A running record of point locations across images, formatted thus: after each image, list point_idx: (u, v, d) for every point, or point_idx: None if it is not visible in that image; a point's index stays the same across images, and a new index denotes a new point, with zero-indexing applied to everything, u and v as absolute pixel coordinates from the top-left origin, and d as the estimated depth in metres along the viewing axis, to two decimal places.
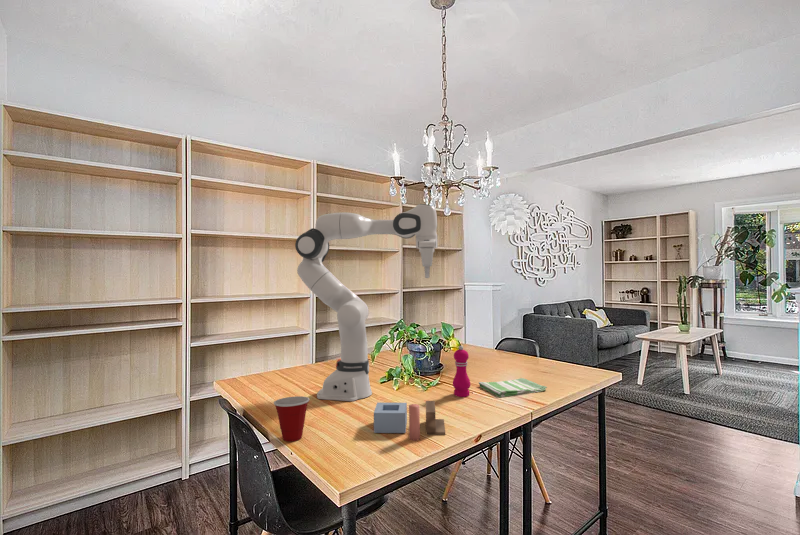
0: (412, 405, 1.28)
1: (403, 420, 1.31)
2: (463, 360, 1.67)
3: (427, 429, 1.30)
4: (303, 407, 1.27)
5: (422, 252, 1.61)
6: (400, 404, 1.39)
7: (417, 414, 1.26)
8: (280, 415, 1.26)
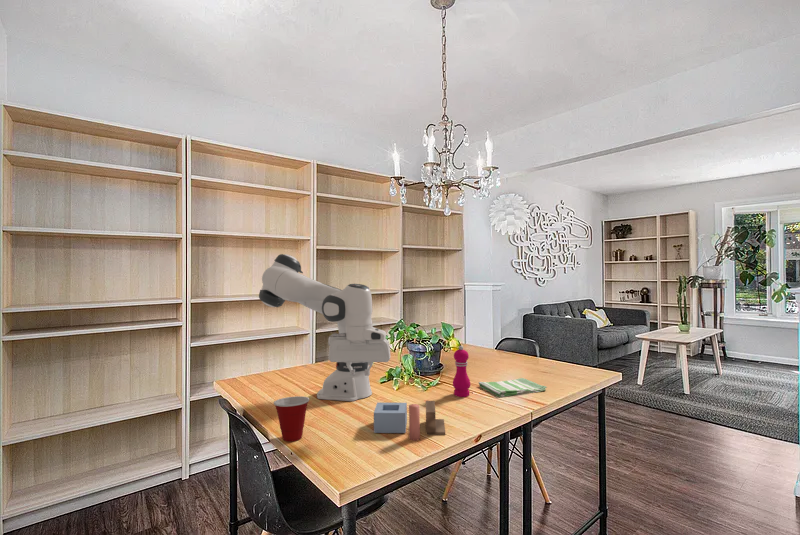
0: (412, 405, 1.28)
1: (403, 420, 1.31)
2: (463, 360, 1.67)
3: (427, 429, 1.30)
4: (303, 407, 1.27)
5: (387, 345, 1.35)
6: (400, 404, 1.39)
7: (417, 414, 1.26)
8: (280, 415, 1.26)
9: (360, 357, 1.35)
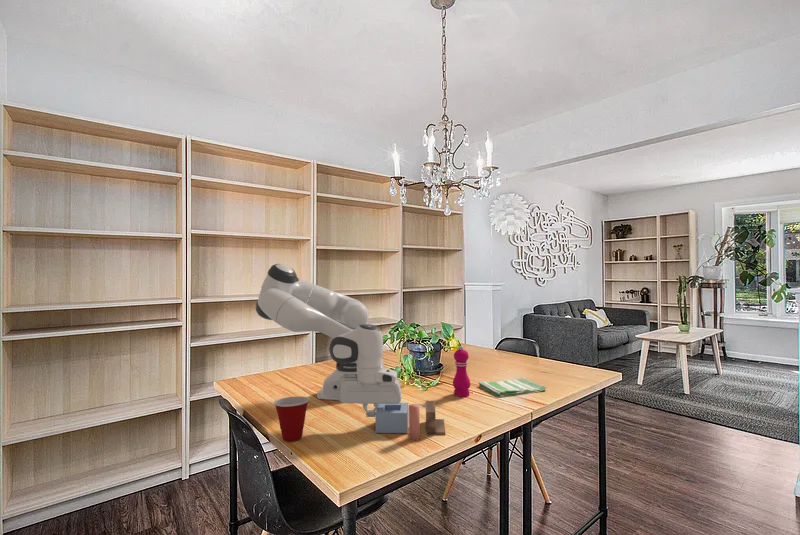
0: (412, 405, 1.28)
1: (405, 420, 1.31)
2: (463, 360, 1.67)
3: (427, 429, 1.30)
4: (303, 407, 1.27)
5: (398, 387, 1.34)
6: (402, 404, 1.39)
7: (417, 414, 1.26)
8: (280, 415, 1.26)
9: (372, 399, 1.35)
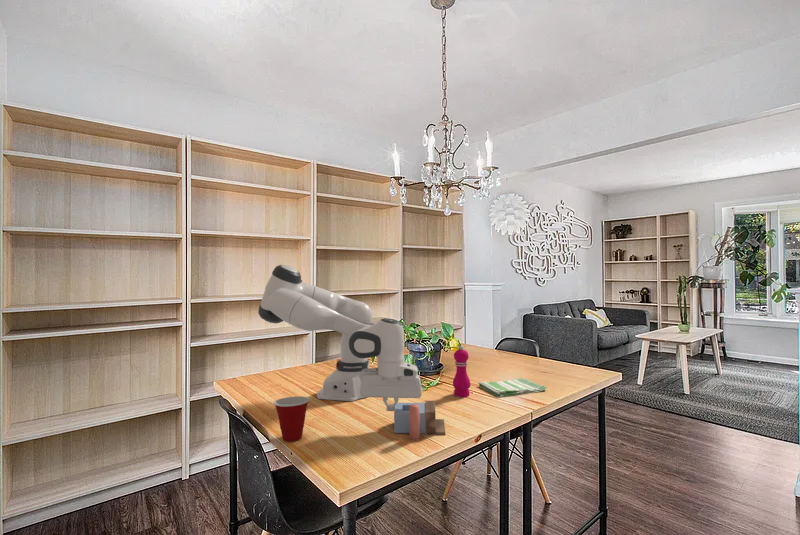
0: (412, 405, 1.28)
1: (424, 420, 1.31)
2: (463, 360, 1.67)
3: (427, 429, 1.30)
4: (303, 407, 1.27)
5: (419, 381, 1.34)
6: (419, 404, 1.39)
7: (417, 414, 1.26)
8: (280, 415, 1.26)
9: (392, 393, 1.35)
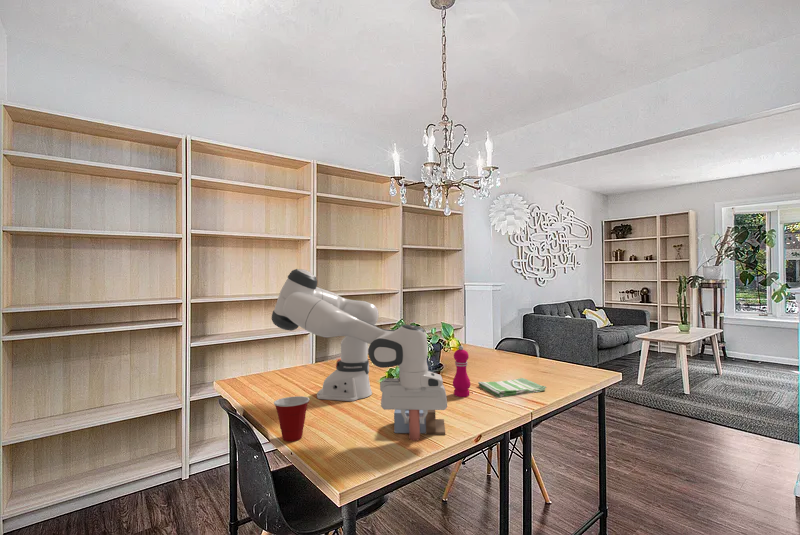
0: None
1: (424, 420, 1.31)
2: (463, 360, 1.67)
3: (427, 429, 1.30)
4: (303, 407, 1.27)
5: (445, 392, 1.25)
6: None
7: (417, 414, 1.26)
8: (280, 415, 1.26)
9: (416, 404, 1.26)
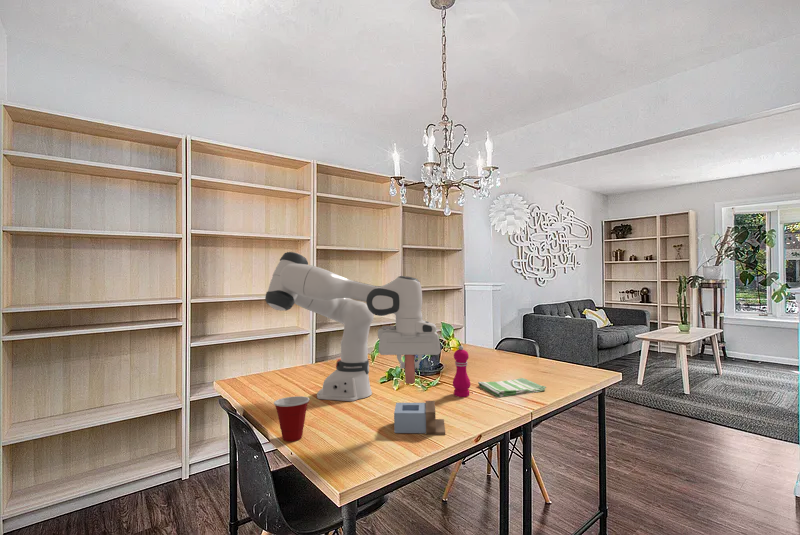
0: None
1: (424, 420, 1.31)
2: (463, 360, 1.67)
3: (427, 429, 1.30)
4: (303, 407, 1.27)
5: (438, 338, 1.34)
6: (419, 404, 1.39)
7: (412, 359, 1.35)
8: (280, 415, 1.26)
9: (411, 350, 1.34)
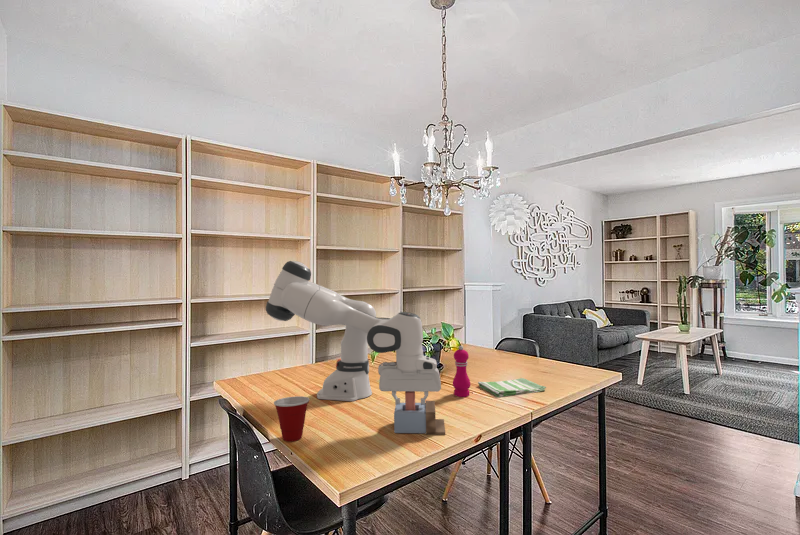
0: (408, 391, 1.36)
1: (424, 420, 1.31)
2: (463, 360, 1.67)
3: (427, 429, 1.30)
4: (303, 407, 1.27)
5: (439, 375, 1.34)
6: (419, 404, 1.39)
7: (412, 400, 1.34)
8: (280, 415, 1.26)
9: (412, 386, 1.34)
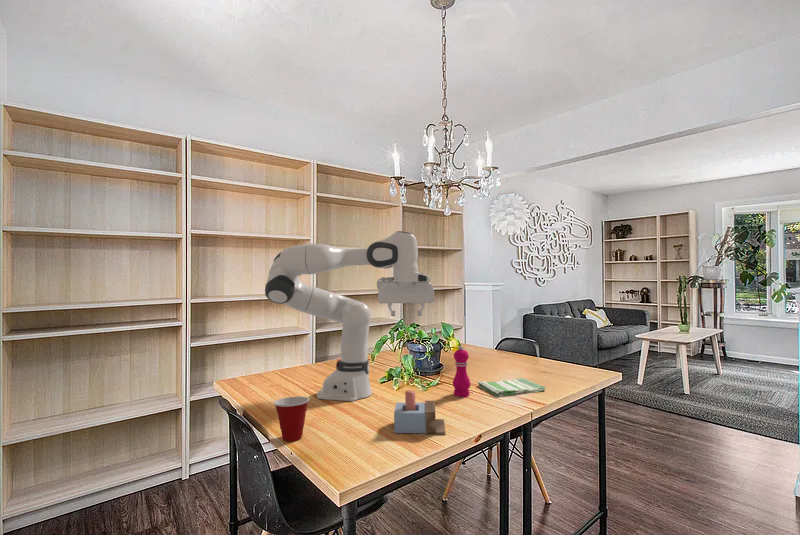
0: (408, 391, 1.36)
1: (424, 420, 1.31)
2: (463, 360, 1.67)
3: (427, 429, 1.30)
4: (303, 407, 1.27)
5: (432, 287, 1.46)
6: (419, 404, 1.39)
7: (413, 399, 1.35)
8: (280, 415, 1.26)
9: (407, 298, 1.46)
